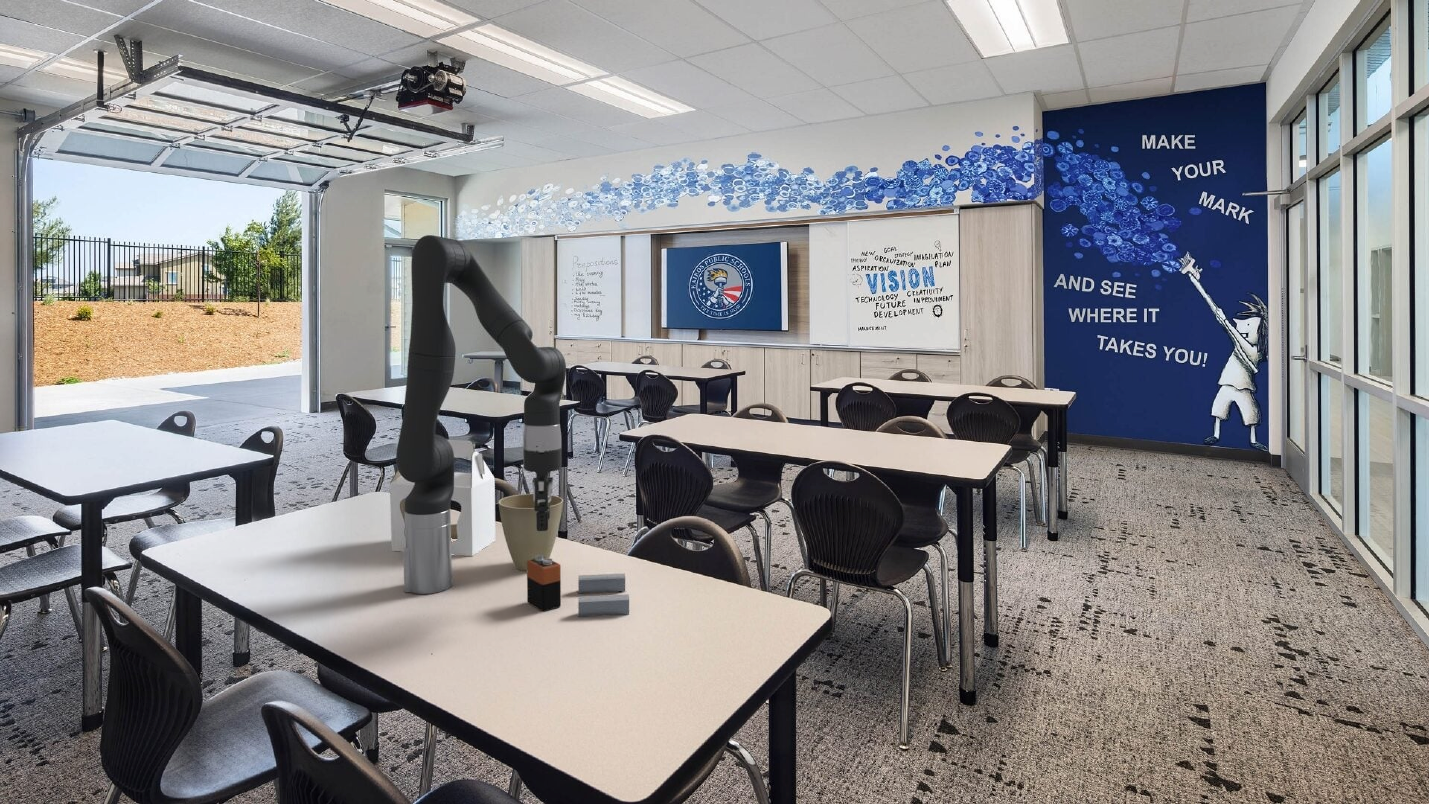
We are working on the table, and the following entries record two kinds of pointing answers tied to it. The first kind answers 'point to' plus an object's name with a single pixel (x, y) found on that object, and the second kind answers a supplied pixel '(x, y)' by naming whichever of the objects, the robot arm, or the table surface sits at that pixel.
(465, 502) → the gable box
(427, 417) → the robot arm
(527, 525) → the plant pot
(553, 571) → the battery
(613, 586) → the housing
